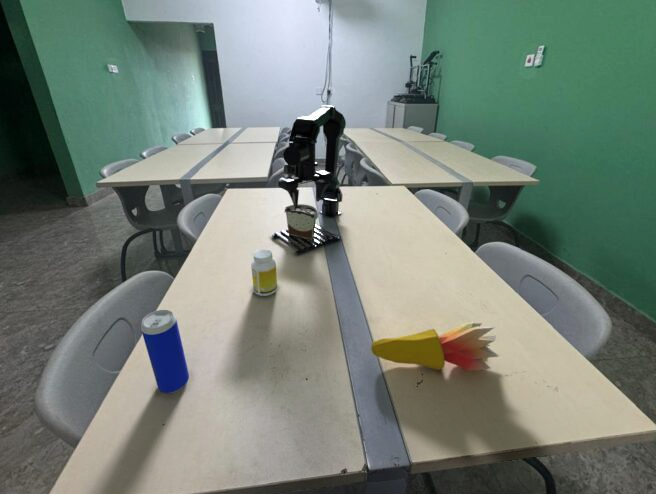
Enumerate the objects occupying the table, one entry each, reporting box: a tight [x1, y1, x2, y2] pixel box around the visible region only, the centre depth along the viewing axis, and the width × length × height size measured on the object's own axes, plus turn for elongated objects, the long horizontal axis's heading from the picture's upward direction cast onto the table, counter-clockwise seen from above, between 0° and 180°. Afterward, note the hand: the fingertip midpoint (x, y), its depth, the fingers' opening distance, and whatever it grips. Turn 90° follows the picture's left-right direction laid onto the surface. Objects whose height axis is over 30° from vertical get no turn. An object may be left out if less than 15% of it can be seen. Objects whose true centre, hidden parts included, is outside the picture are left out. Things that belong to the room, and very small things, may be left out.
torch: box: [370, 321, 501, 372], centre depth 63 cm, size 8×8×25 cm
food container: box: [284, 203, 319, 241], centre depth 110 cm, size 12×6×10 cm, turn 66°
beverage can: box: [140, 309, 190, 394], centre depth 55 cm, size 5×5×15 cm
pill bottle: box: [250, 249, 278, 297], centre depth 82 cm, size 6×6×11 cm
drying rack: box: [271, 223, 341, 256], centre depth 112 cm, size 18×16×2 cm
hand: (306, 204), depth 109 cm, fingers open, 9 cm apart
